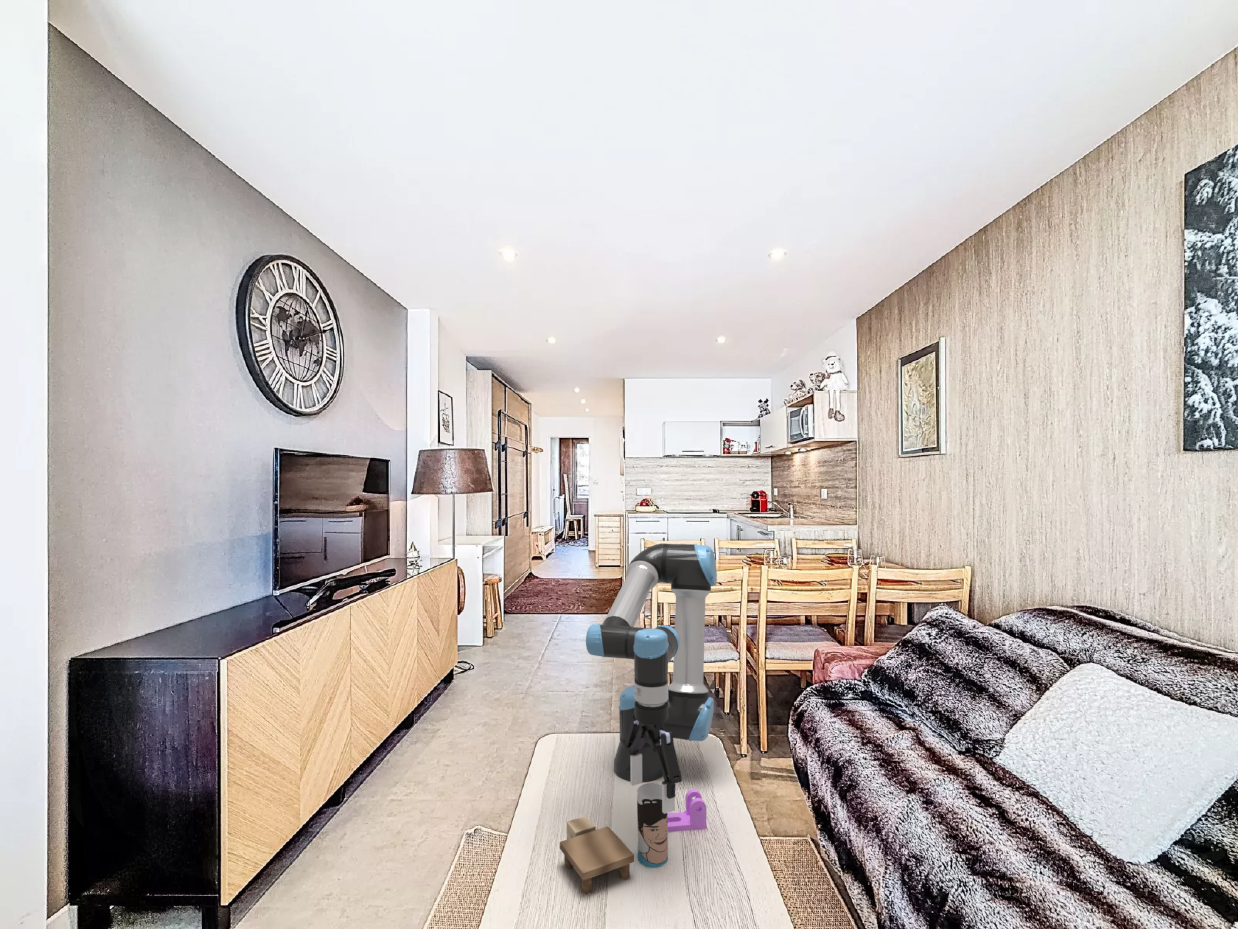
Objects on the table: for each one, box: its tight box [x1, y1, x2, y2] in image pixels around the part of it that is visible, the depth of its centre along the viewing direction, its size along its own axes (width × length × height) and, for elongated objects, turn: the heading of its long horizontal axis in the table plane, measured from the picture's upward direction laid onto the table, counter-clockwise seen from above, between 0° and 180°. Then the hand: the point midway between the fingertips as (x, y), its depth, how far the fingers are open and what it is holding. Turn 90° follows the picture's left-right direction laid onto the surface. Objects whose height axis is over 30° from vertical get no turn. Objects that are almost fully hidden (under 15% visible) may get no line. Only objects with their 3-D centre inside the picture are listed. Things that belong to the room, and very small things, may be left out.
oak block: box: [566, 815, 596, 840], centre depth 144 cm, size 5×5×5 cm
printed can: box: [636, 782, 669, 868], centre depth 140 cm, size 7×7×15 cm
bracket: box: [668, 788, 707, 833], centre depth 152 cm, size 13×6×7 cm, turn 97°
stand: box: [559, 825, 635, 895], centre depth 135 cm, size 12×12×5 cm
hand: (651, 796), depth 139 cm, fingers open, 13 cm apart
